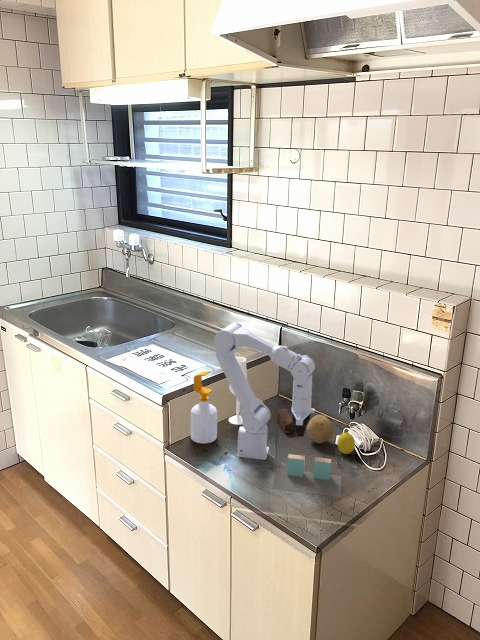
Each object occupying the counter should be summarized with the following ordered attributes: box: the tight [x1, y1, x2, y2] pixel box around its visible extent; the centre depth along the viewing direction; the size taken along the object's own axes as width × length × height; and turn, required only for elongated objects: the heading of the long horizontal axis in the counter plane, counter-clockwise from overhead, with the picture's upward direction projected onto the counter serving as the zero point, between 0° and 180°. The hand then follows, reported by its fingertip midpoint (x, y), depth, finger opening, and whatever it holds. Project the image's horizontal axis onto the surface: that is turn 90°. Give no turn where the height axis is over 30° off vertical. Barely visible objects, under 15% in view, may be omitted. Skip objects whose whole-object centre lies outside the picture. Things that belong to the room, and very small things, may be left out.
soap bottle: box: [190, 370, 218, 445], centre depth 188 cm, size 9×9×25 cm
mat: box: [272, 467, 342, 498], centre depth 167 cm, size 20×11×1 cm, turn 79°
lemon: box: [337, 432, 356, 455], centre depth 183 cm, size 6×6×8 cm
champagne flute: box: [228, 356, 248, 425], centre depth 201 cm, size 7×7×24 cm
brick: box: [276, 408, 296, 434], centre depth 200 cm, size 11×4×5 cm, turn 13°
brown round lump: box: [306, 414, 335, 444], centre depth 190 cm, size 9×9×10 cm
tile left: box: [286, 453, 306, 477], centre depth 170 cm, size 5×2×6 cm, turn 79°
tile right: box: [312, 456, 332, 480], centre depth 169 cm, size 5×2×6 cm, turn 79°
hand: (300, 435), depth 174 cm, fingers closed
